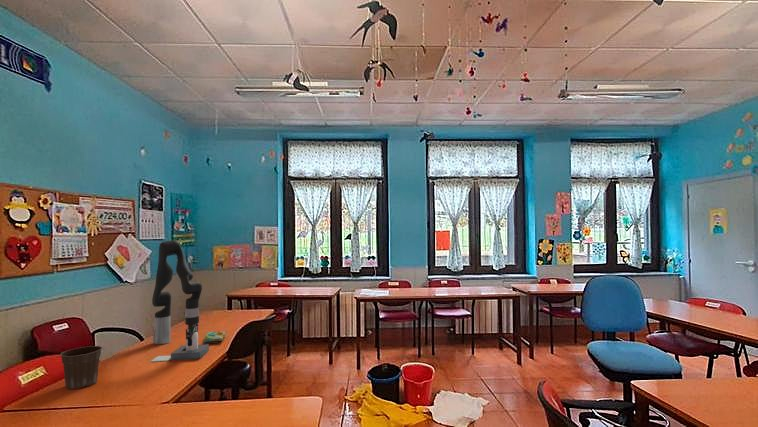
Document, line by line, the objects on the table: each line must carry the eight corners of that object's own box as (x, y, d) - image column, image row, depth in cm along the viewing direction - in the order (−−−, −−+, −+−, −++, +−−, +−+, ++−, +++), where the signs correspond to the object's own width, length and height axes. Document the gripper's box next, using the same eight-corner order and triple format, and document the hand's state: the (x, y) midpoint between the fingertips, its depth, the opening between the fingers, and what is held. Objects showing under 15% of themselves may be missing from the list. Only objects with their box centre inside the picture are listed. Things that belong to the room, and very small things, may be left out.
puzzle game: (226, 329, 277) (222, 337, 258) (226, 336, 277) (222, 344, 258) (208, 331, 275) (202, 338, 255) (208, 337, 275) (202, 345, 255)
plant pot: (52, 393, 181) (52, 357, 182) (69, 380, 196) (70, 347, 197) (93, 388, 185) (94, 353, 186) (107, 376, 201) (107, 344, 201)
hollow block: (170, 360, 225) (170, 353, 225) (181, 352, 241) (181, 345, 241) (200, 359, 227) (200, 352, 227) (208, 350, 243) (208, 344, 243)
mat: (150, 362, 223) (150, 361, 223) (157, 357, 232) (157, 356, 232) (167, 361, 224) (167, 360, 224) (173, 356, 233) (173, 355, 233)
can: (184, 352, 234) (184, 332, 235) (194, 350, 239) (194, 329, 240) (188, 354, 230) (188, 333, 231) (200, 351, 235) (200, 331, 235)
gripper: (189, 313, 242) (189, 341, 241) (180, 318, 228) (180, 348, 227) (202, 312, 243) (202, 340, 242) (194, 318, 229) (194, 347, 228)
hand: (192, 344), depth 235 cm, fingers closed on can, 6 cm apart
